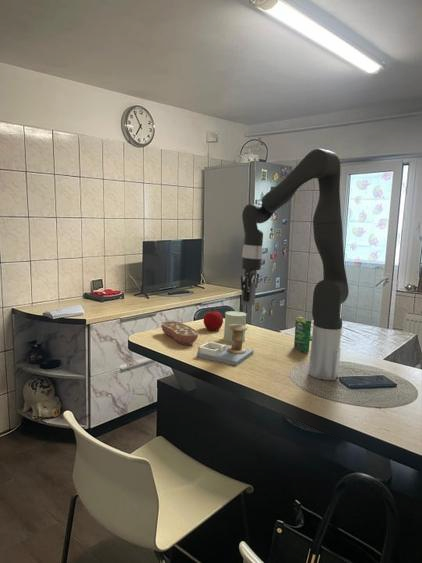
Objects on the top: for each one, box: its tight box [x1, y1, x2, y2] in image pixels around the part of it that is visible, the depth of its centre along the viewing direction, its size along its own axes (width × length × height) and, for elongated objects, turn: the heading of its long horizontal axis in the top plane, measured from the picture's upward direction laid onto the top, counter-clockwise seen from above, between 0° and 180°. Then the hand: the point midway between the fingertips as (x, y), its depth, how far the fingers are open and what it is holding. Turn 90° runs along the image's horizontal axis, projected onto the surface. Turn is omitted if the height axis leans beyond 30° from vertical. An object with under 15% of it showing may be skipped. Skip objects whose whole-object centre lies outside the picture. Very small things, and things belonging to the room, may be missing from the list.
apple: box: [203, 309, 224, 331], centre depth 191 cm, size 9×9×10 cm
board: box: [196, 341, 254, 367], centre depth 155 cm, size 16×16×4 cm
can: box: [222, 310, 247, 344], centre depth 176 cm, size 9×9×12 cm
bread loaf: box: [160, 321, 199, 346], centre depth 173 cm, size 23×10×5 cm, turn 31°
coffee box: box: [293, 316, 312, 354], centre depth 167 cm, size 8×3×13 cm, turn 17°
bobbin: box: [227, 324, 248, 354], centre depth 156 cm, size 7×7×10 cm
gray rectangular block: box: [240, 282, 257, 307], centre depth 161 cm, size 4×4×11 cm
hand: (248, 300), depth 162 cm, fingers closed on gray rectangular block, 4 cm apart
